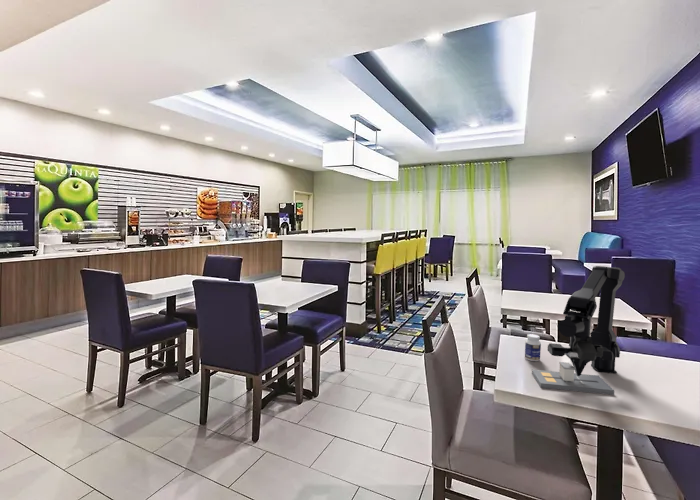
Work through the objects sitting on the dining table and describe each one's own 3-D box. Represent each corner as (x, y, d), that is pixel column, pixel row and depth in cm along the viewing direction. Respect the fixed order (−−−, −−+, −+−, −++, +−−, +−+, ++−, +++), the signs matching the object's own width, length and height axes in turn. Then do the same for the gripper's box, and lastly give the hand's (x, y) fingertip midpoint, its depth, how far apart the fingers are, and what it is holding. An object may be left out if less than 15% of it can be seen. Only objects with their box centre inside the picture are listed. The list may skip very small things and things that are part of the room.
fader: (568, 375, 129) (569, 362, 128) (574, 381, 124) (574, 368, 123) (558, 374, 129) (559, 361, 129) (563, 380, 124) (564, 367, 124)
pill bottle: (534, 362, 145) (535, 338, 145) (521, 358, 150) (522, 334, 150) (543, 360, 148) (544, 336, 147) (530, 355, 153) (531, 332, 152)
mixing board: (598, 379, 130) (598, 375, 129) (614, 394, 118) (614, 390, 118) (531, 373, 135) (531, 369, 135) (540, 387, 123) (540, 382, 123)
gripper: (558, 336, 119) (556, 382, 120) (623, 341, 114) (620, 388, 116) (547, 327, 130) (546, 369, 131) (606, 331, 125) (604, 374, 126)
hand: (578, 375), depth 125 cm, fingers closed
